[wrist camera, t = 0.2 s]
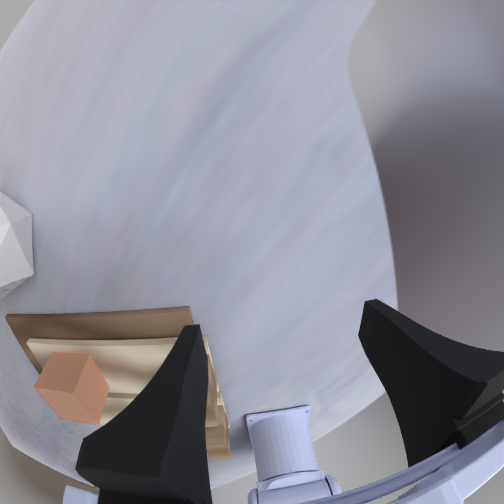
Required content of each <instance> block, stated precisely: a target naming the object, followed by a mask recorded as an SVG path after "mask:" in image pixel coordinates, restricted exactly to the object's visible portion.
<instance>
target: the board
mask: <svg viewBox="0 0 504 504" xmlns="http://www.w3.org/2000/svg"><path fill="white" fill-rule="evenodd" d="M5 318H6V320H7V322H8V324H9V326H10V328H11V329H12V331H13V333H14V335H15V337H16V338H17V340H18V342H19V343H20V345H21V347H22V348H23V350H24V352H25V353H26V355H27V356H28V358H29V359H30V361H31V362H32V364H33V365H34V367H35V368H36V370H37V371H38V373H39V374H41V372H42V370H43V368H42V367H41V365H40V364H39V362H38V361H37V359H36V358H35V356H34V354H33V353H32V351H31V350H30V348H29V346H28V345H27V341H28V340H29V338H36V339H57V340H137V339H159V338H176V337H179V335H180V333H181V331H182V329H183V327H184V326H185V325H194V324H193V320H192V316H191V312H190V308H189V306H185V307H174V308H162V309H149V310H134V311H118V312H99V313H74V314H7V316H6V317H5Z"/></svg>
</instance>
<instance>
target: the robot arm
mask: <svg viewBox="0 0 504 504" xmlns="http://www.w3.org/2000/svg"><path fill="white" fill-rule="evenodd" d="M358 336H359V339H360V342H361V344H362V347H363V349H364V352H365V354H366V356H367V358H368V359H369V361H370V363H371V365H372V366H373V368H374V370H375V372H376V374H377V375H378V377H379V379H380V381H381V382H382V384H383V386H384V388H385V390H386V392H387V394H388V396H389V398H390V401H391V403H392V406H393V409H394V411H395V414H396V417H397V420H398V423H399V426H400V430H401V434H402V437H403V441H404V445H405V450H406V455H407V460H408V467H409V468H407V469H405V470H403V471H400V472H398V473H396V474H393V475H391V476H389V477H386V478H384V479H381V480H379V481H376V482H373V483H371V484H368V485H365V486H362V487H359V488H356V489H353V490H349V491H346V492H343V493H342V492H341V489H340V486H339V484H338V482H337V480H336V479H335V478H333V477H331V476H330V475H325V476H324V472H323V470H319V466H318V462H317V459H316V455H315V452H314V448H313V445H312V441H311V437H310V434H309V430H308V423H309V417H310V411H311V407H310V406H302V407H297V408H291V409H286V410H279V411H273V412H266V413H258V414H250V415H247V416H246V422H247V427H248V432H249V437H250V441H251V446H253V447H254V454H255V461H256V469H257V475H258V482H257V488H258V490H257V488H256V489H252V490H251V492H250V493H249V494H248V504H364V503H367V502H370V501H373V500H375V499H378V498H381V497H383V496H385V495H388V494H390V493H393V492H395V491H397V490H400V489H402V488H404V487H406V486H408V485H410V484H413V483H415V482H417V481H419V480H421V479H422V478H424V477H426V476H428V475H430V474H432V473H433V474H432V475H430V476H429V477H427V478H425V479H424V480H422V481H420V482H419V483H417V484H416V485H415V486H414V487H413V488H411V489H410V490H409V491H407V492H406V493H404V494H402V495H401V496H399V497H398V501H396V502H393V503H391V504H463V503H464V501H463V500H464V499H465V498H467V497H468V496H469V495H471V494H472V493H473V492H474V491H476V490H477V489H478V488H479V487H481V486H482V485H483V484H484V483H485V482H487V481H488V480H489V479H490V478H491V477H492V476H494V474H496V473H497V472H498V471H499V470H500V469H501V468H502V467H503V466H504V402H503V401H502V400H503V399H504V394H503V393H502V391H503V389H504V352H499V351H491V350H486V349H481V348H476V347H473V346H468V345H465V344H462V343H460V342H457V341H454V340H451V339H449V338H446V337H444V336H442V335H439V334H437V333H435V332H433V331H431V330H429V329H427V328H425V327H423V326H422V325H420V324H418V323H416V322H414V321H413V320H411V319H409V318H408V317H406V316H404V315H403V314H401V313H400V312H398V311H396V310H395V309H393V308H391V307H390V306H388V305H386V304H385V303H383V302H381V301H379V300H377V299H374V300H369V301H365V303H364V309H363V314H362V319H361V325H360V330H359V334H358ZM208 381H209V376H208V357H207V353H206V349H205V345H204V341H203V337H202V333H201V329H200V324H196V325H185V326H184V327H183V329H182V331H181V333H180V335H179V337H178V338H177V340H176V342H175V344H174V345H173V347H172V349H171V351H170V352H169V354H168V355H167V357H166V359H165V360H164V362H163V363H162V365H161V366H160V368H159V369H158V370H157V372H156V373H155V375H154V376H153V378H152V379H151V380H150V381H149V383H148V384H147V385H146V386H145V388H144V389H143V390H142V391H141V392H140V393H139V394H138V395H137V396H136V398H135V399H134V400H133V401H132V402H131V403H130V404H129V405H128V406H127V407H126V408H125V409H123V410H122V411H121V412H120V413H119V414H118V415H116V416H115V417H114V418H113V419H112V420H110V421H109V422H108V423H106V424H105V425H104V426H102V427H101V428H99V429H98V430H96V431H95V432H93V433H92V434H90V435H88V436H87V437H85V438H84V439H83V442H82V444H81V447H80V451H79V455H78V460H77V464H76V468H75V469H76V471H77V472H78V474H79V475H80V476H82V477H83V478H84V479H86V480H87V481H89V482H90V483H92V484H93V485H95V486H96V487H98V488H99V489H100V491H99V495H97V494H95V493H92V492H89V491H85V490H82V489H79V488H75V487H72V486H69V485H67V486H66V487H65V492H64V497H63V502H62V504H213V503H212V497H211V490H210V482H209V473H208V463H207V451H206V434H205V421H206V407H207V394H208Z"/></svg>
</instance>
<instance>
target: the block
mask: <svg viewBox="0 0 504 504" xmlns="http://www.w3.org/2000/svg"><path fill="white" fill-rule="evenodd" d="M34 388H35V389H36V390H37V391H38V393H39V394H40V395H41V396H42V398H43V399H44V400H45V401H46V403H47V404H48V405H49V406H50V407H51V408H52V410H53V411H54V412H55V413H56V414H57V415H58V416H59V417H60V418H61V419H66V420H72V421H77V422H83V423H89V424H96V425H99V423H100V419H101V416H102V412H103V408H104V405H105V401H106V398H107V395H108V391H109V388H110V387H109V385H108V383H107V382H106V380H105V379H104V377H103V375H102V374H101V372H100V370H99V369H98V367H97V365H96V364H95V362H94V360H93V358H92V357H91V355H90V354H87V353H65V352H52V353H51V355H50V357H49V359H48V360H47V362H46V364H45V366H44V368H43V370H42V372H41V374H40V376H39V378H38V380H37V382H36V384H35V386H34Z"/></svg>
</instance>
